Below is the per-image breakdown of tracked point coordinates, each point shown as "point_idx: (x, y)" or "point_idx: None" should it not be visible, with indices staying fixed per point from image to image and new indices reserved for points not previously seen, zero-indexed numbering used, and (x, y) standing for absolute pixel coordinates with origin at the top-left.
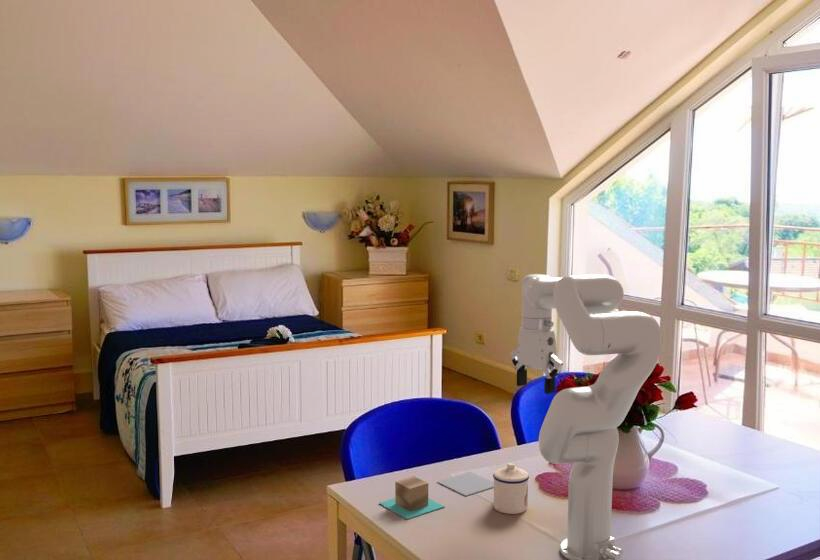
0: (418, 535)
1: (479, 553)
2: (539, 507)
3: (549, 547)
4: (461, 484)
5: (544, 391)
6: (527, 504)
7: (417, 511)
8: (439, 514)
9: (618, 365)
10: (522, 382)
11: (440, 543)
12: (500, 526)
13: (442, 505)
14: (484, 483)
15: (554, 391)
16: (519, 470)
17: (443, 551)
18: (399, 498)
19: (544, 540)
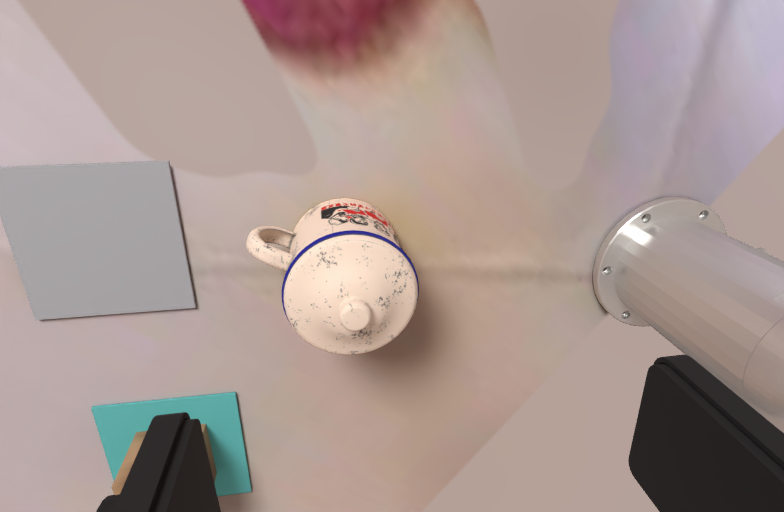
0: (339, 499)
1: (486, 442)
2: (396, 173)
3: (574, 314)
4: (100, 269)
5: (640, 484)
6: (384, 217)
7: (226, 458)
8: (267, 420)
9: None
10: (203, 507)
11: (399, 481)
12: (419, 339)
13: (226, 395)
14: (130, 198)
15: (683, 357)
16: (383, 289)
17: (431, 490)
18: None
19: (544, 301)
